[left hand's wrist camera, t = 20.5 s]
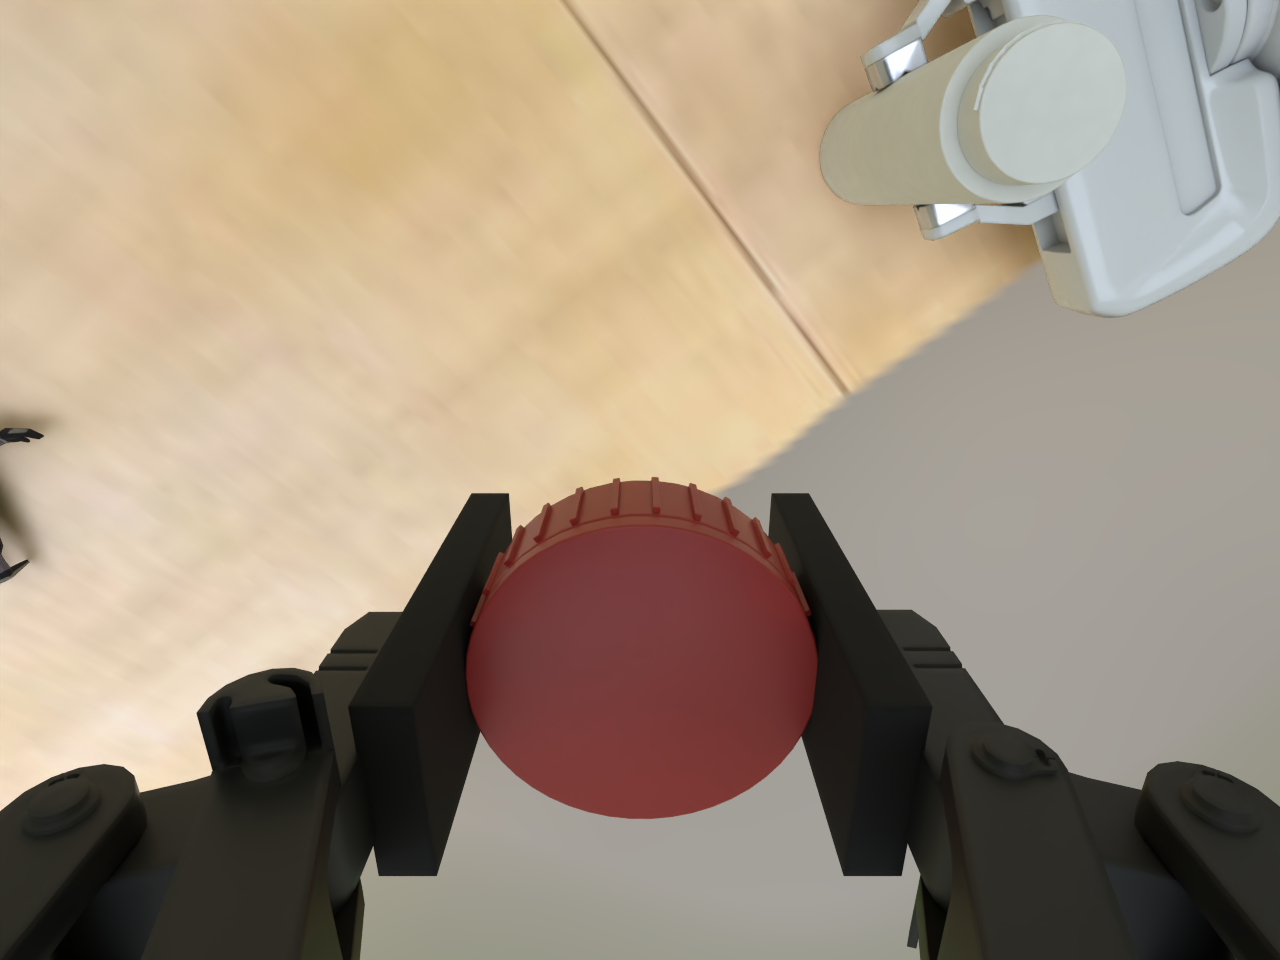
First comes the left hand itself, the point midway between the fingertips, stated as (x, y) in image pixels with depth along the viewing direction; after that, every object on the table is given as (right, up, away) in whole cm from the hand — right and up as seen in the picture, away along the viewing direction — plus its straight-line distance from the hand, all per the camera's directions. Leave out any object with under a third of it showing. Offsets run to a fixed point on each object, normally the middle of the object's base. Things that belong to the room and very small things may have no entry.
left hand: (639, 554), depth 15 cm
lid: (0, -1, -4) cm, 4 cm away
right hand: (+10, +15, +14) cm, 23 cm away
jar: (+11, +18, +20) cm, 29 cm away
